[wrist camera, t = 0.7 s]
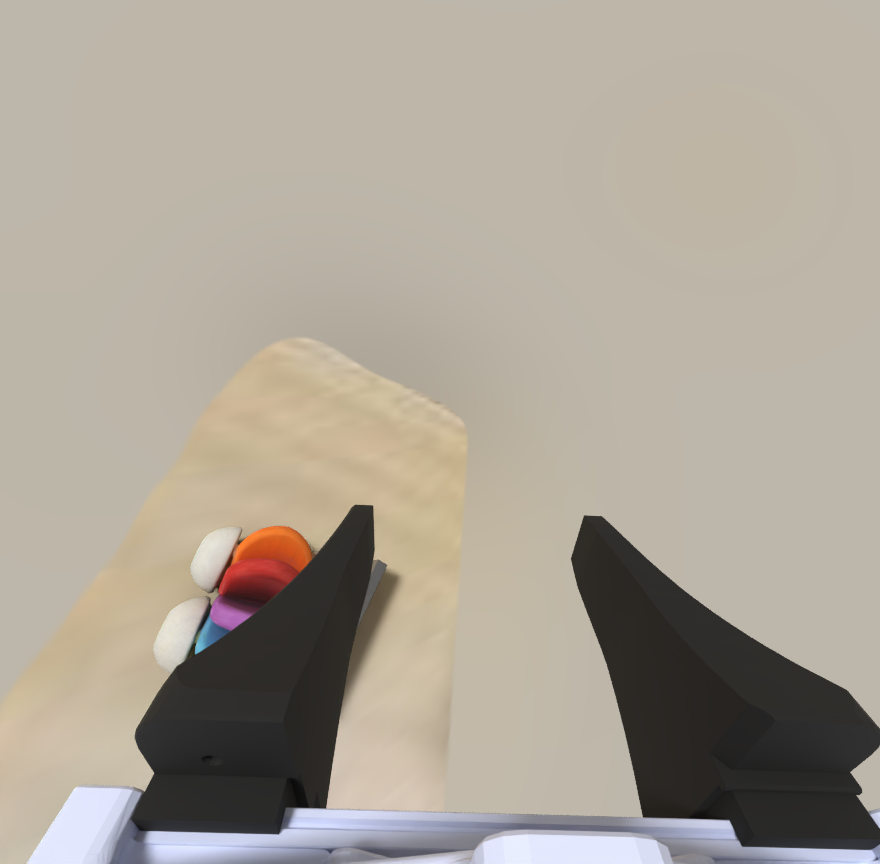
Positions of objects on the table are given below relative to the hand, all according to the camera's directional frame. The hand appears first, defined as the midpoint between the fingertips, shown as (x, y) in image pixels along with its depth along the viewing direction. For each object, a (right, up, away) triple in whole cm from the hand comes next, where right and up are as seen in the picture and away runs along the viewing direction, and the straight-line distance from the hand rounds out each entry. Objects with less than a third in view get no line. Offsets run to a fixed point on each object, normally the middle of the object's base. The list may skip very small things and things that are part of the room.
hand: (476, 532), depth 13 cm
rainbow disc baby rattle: (-14, -8, +13) cm, 21 cm away
